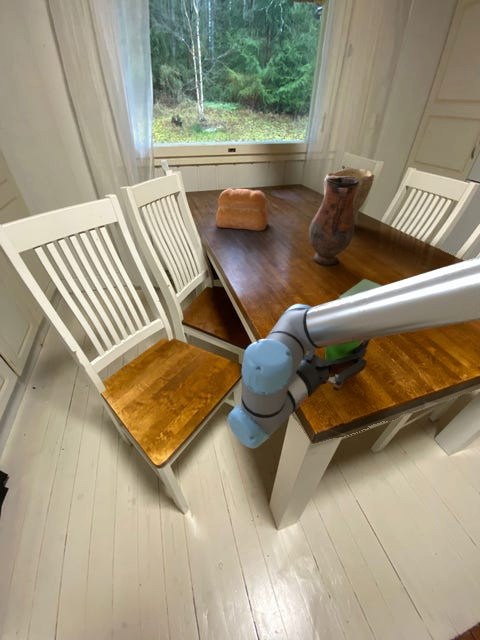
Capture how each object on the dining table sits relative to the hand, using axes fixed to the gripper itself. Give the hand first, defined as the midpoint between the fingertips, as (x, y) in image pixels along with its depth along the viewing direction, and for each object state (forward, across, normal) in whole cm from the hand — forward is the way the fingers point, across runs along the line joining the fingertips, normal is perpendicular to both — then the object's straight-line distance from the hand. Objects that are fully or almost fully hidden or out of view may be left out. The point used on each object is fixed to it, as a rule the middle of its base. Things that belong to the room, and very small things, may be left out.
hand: (350, 333), depth 67 cm
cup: (-5, 0, -6) cm, 8 cm away
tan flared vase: (+84, -52, -6) cm, 99 cm away
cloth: (+29, -4, -6) cm, 30 cm away
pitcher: (+40, -32, -6) cm, 52 cm away
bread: (+44, -85, -6) cm, 96 cm away
